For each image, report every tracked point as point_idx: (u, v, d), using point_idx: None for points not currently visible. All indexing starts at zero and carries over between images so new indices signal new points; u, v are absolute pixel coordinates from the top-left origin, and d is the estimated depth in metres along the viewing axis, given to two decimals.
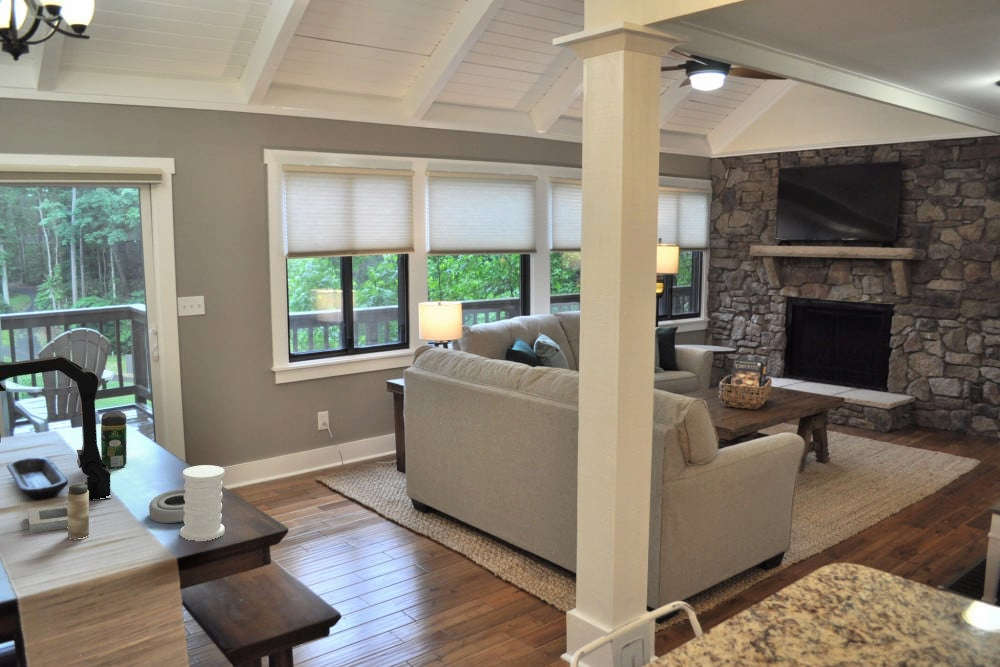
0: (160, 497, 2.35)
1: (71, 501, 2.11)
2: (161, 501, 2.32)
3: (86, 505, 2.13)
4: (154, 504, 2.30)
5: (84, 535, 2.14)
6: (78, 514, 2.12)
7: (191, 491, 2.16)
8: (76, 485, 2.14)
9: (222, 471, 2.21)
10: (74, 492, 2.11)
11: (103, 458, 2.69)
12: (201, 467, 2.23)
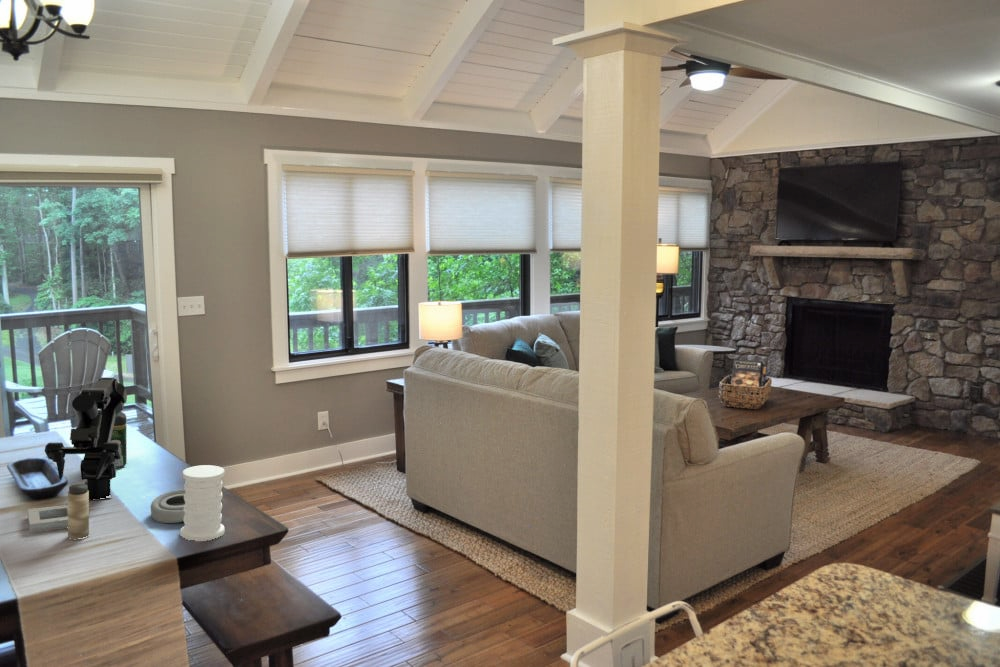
0: (162, 497, 2.35)
1: (71, 501, 2.11)
2: (163, 501, 2.32)
3: (86, 505, 2.13)
4: (156, 504, 2.30)
5: (84, 535, 2.14)
6: (78, 514, 2.12)
7: (191, 491, 2.16)
8: (76, 485, 2.14)
9: (222, 471, 2.21)
10: (74, 492, 2.11)
11: None
12: (201, 467, 2.23)
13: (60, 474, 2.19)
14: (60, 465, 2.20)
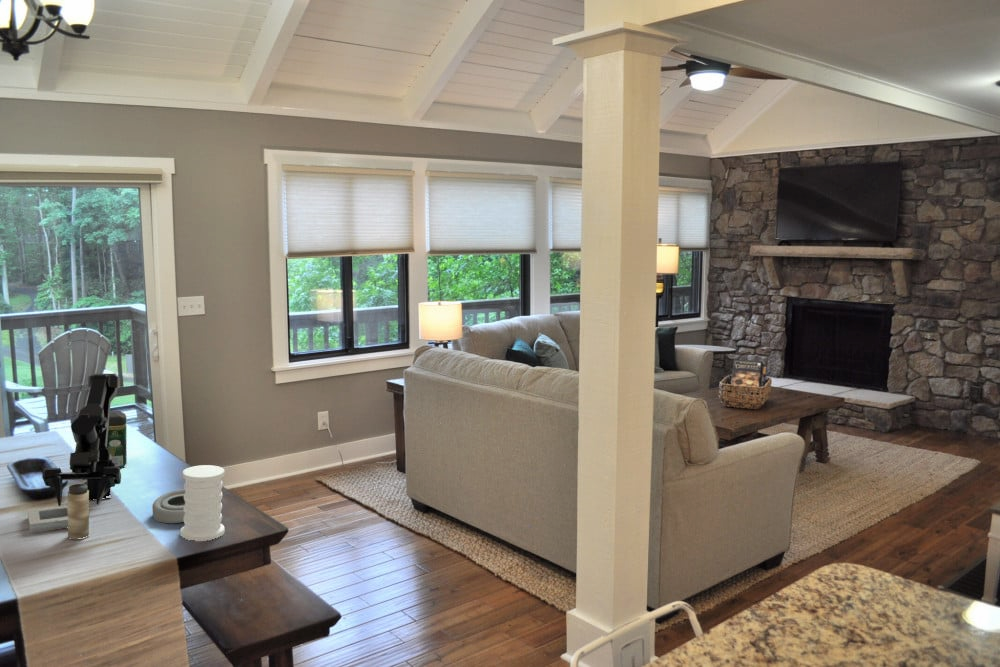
0: (163, 497, 2.35)
1: (71, 501, 2.11)
2: (164, 501, 2.32)
3: (86, 505, 2.13)
4: (157, 504, 2.30)
5: (84, 535, 2.14)
6: (78, 514, 2.12)
7: (191, 491, 2.16)
8: (76, 485, 2.14)
9: (222, 471, 2.21)
10: (74, 492, 2.11)
11: None
12: (201, 467, 2.23)
13: (59, 500, 2.12)
14: (59, 491, 2.13)
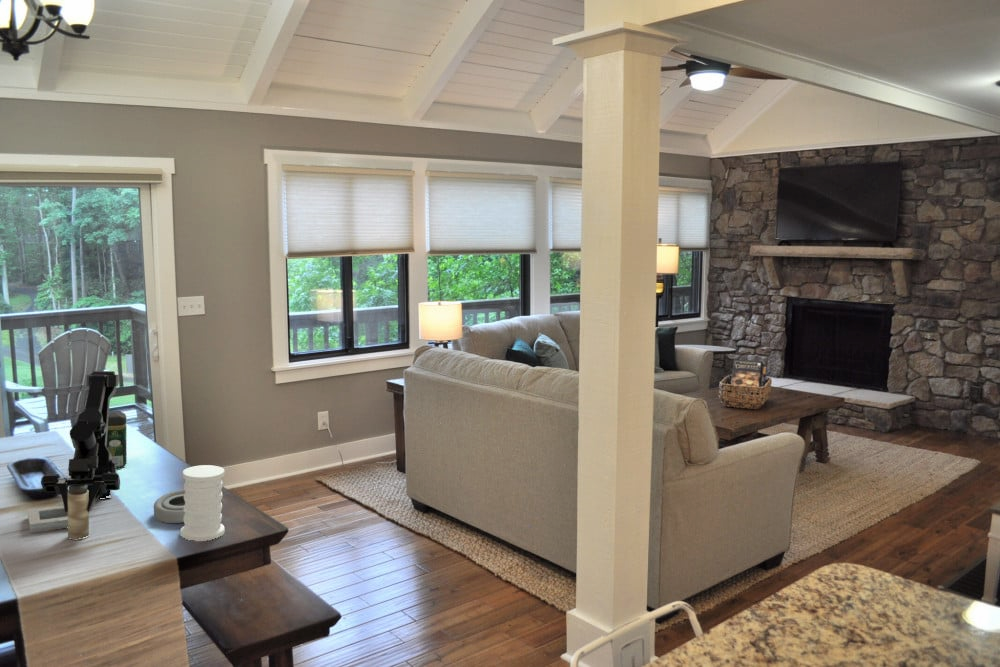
0: (164, 497, 2.35)
1: (71, 501, 2.11)
2: (165, 501, 2.32)
3: (86, 505, 2.13)
4: (159, 504, 2.30)
5: (84, 535, 2.14)
6: (78, 514, 2.12)
7: (191, 491, 2.16)
8: (76, 485, 2.14)
9: (222, 471, 2.21)
10: (74, 492, 2.11)
11: None
12: (201, 467, 2.23)
13: (66, 506, 2.12)
14: (65, 497, 2.13)
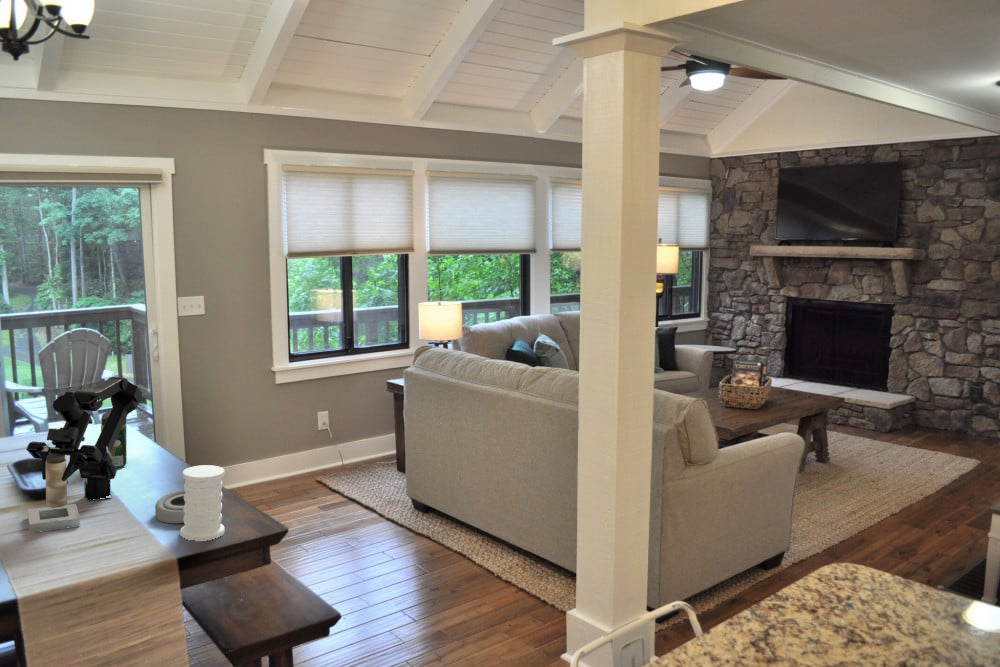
0: (166, 497, 2.35)
1: (47, 469, 2.17)
2: (167, 501, 2.32)
3: (61, 475, 2.18)
4: (160, 504, 2.30)
5: (59, 504, 2.19)
6: (52, 482, 2.17)
7: (191, 491, 2.16)
8: (55, 454, 2.19)
9: (222, 471, 2.21)
10: (49, 461, 2.16)
11: None
12: (201, 467, 2.23)
13: (44, 474, 2.18)
14: (45, 465, 2.19)
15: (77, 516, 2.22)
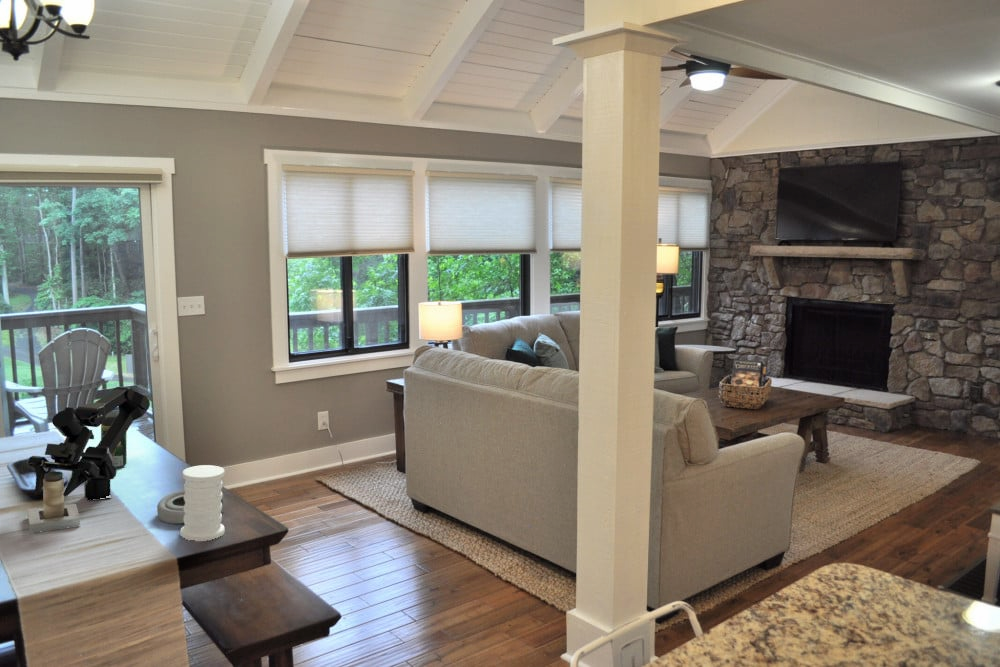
0: (168, 498, 2.35)
1: (44, 487, 2.19)
2: (169, 502, 2.32)
3: (58, 493, 2.20)
4: (162, 505, 2.30)
5: None
6: (49, 500, 2.19)
7: (191, 491, 2.16)
8: (53, 472, 2.22)
9: (222, 471, 2.21)
10: (46, 479, 2.19)
11: None
12: (201, 467, 2.23)
13: (36, 488, 2.21)
14: (38, 479, 2.22)
15: (77, 516, 2.22)
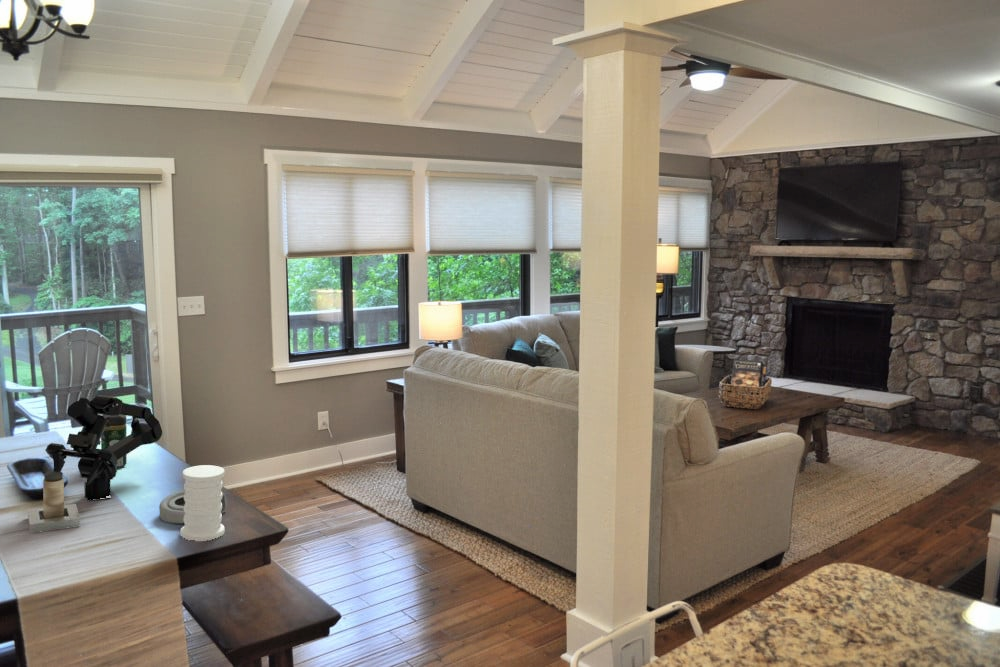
0: (170, 498, 2.35)
1: (44, 487, 2.19)
2: (171, 502, 2.32)
3: (58, 493, 2.20)
4: (164, 505, 2.30)
5: None
6: (49, 500, 2.19)
7: (191, 491, 2.16)
8: (53, 472, 2.22)
9: (222, 471, 2.21)
10: (46, 479, 2.19)
11: None
12: (201, 467, 2.23)
13: None
14: (56, 466, 2.30)
15: (77, 516, 2.22)
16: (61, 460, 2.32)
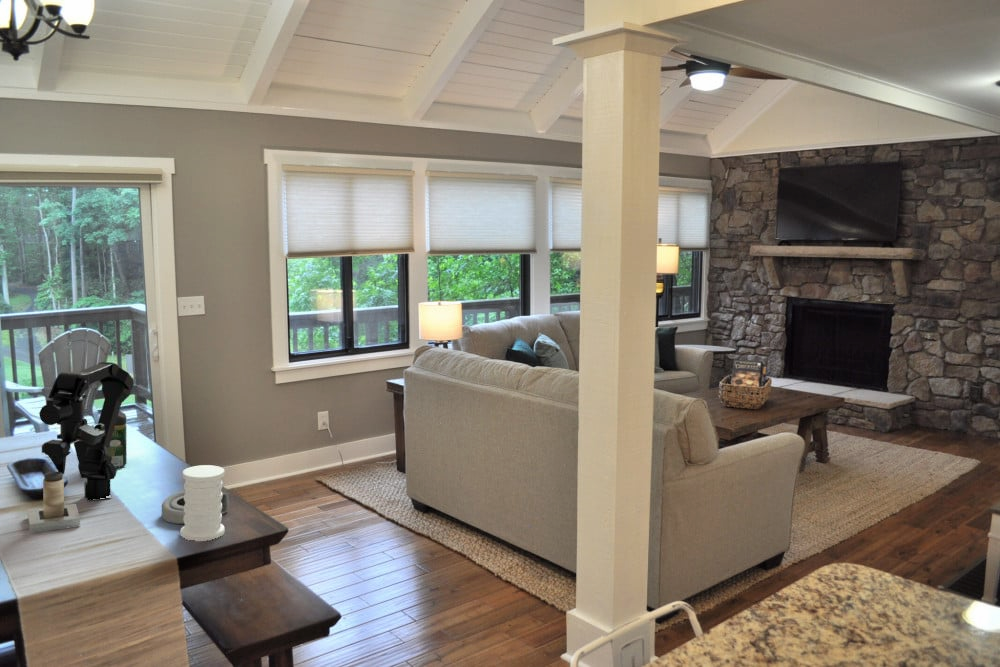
0: (172, 498, 2.35)
1: (44, 487, 2.19)
2: (173, 502, 2.32)
3: (58, 493, 2.20)
4: (167, 505, 2.30)
5: None
6: (49, 500, 2.19)
7: (191, 491, 2.16)
8: (53, 472, 2.22)
9: (222, 471, 2.21)
10: (46, 479, 2.19)
11: None
12: (201, 467, 2.23)
13: (64, 470, 2.24)
14: (65, 462, 2.23)
15: (77, 516, 2.22)
16: None
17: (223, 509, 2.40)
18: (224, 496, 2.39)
